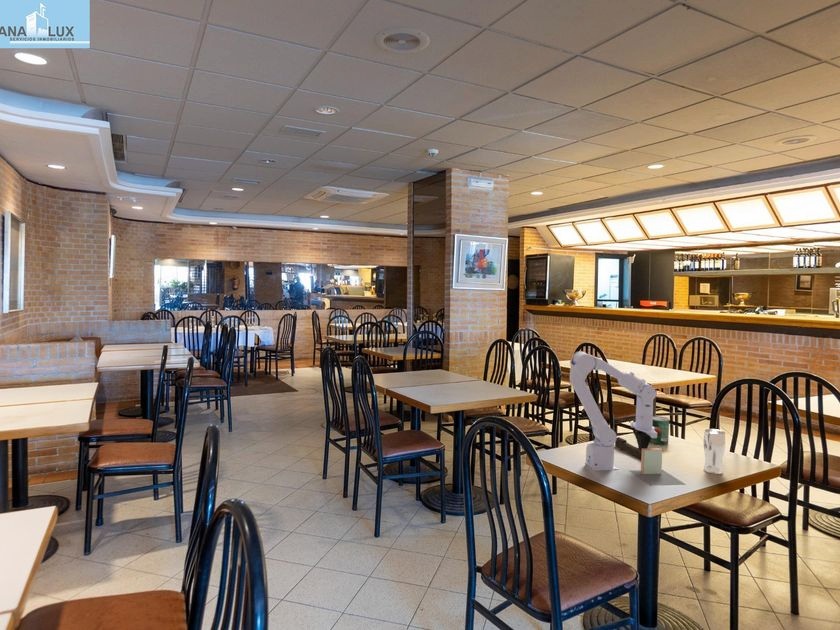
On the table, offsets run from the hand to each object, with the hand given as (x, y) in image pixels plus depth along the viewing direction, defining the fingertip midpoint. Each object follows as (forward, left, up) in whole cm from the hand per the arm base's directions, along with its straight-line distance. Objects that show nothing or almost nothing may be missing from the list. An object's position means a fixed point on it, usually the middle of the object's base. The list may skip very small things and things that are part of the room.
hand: (642, 451), depth 192 cm
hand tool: (+4, +17, -7) cm, 19 cm away
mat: (0, -10, -6) cm, 12 cm away
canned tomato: (+24, +29, -7) cm, 39 cm away
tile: (0, -6, -6) cm, 9 cm away
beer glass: (+25, -5, -7) cm, 26 cm away
